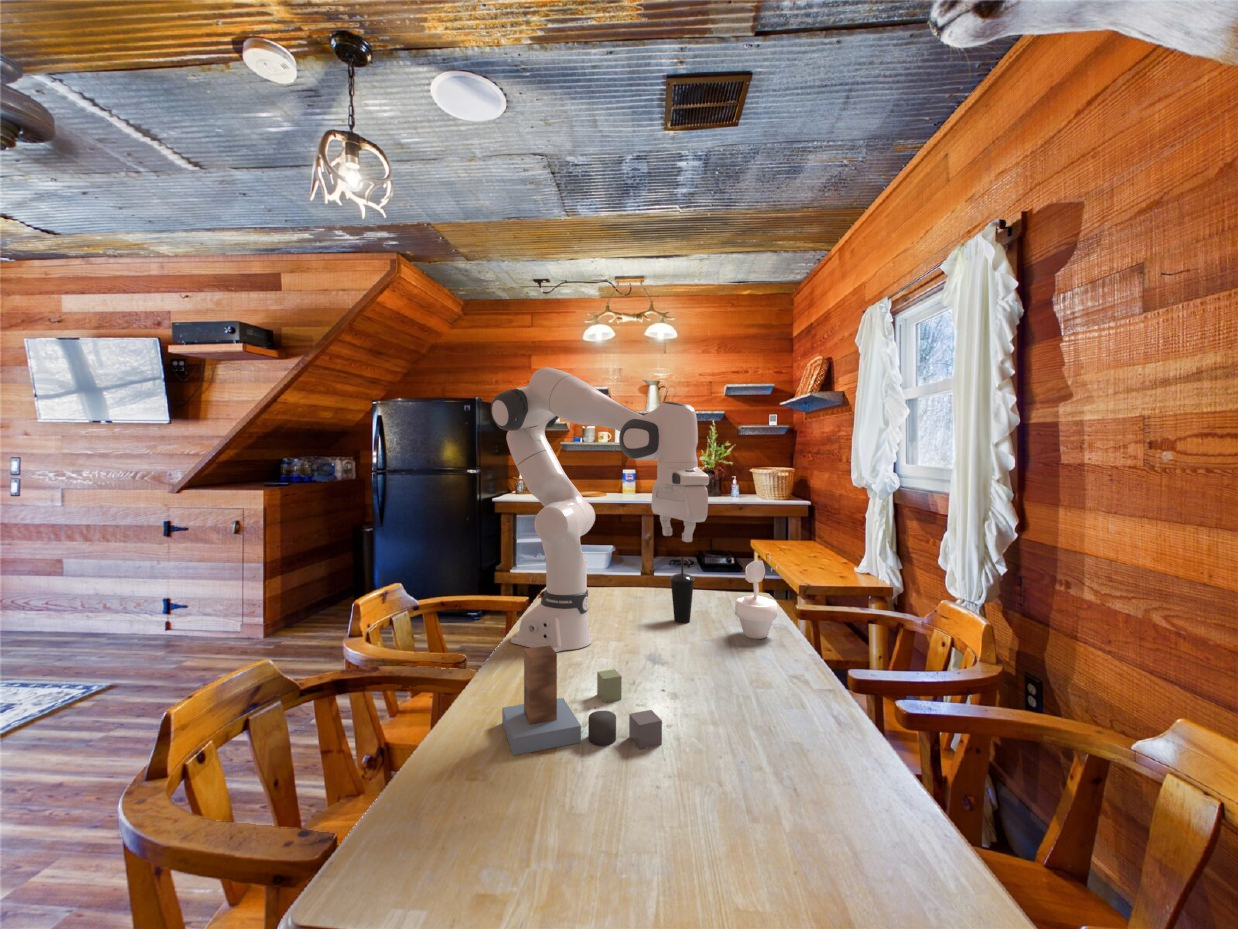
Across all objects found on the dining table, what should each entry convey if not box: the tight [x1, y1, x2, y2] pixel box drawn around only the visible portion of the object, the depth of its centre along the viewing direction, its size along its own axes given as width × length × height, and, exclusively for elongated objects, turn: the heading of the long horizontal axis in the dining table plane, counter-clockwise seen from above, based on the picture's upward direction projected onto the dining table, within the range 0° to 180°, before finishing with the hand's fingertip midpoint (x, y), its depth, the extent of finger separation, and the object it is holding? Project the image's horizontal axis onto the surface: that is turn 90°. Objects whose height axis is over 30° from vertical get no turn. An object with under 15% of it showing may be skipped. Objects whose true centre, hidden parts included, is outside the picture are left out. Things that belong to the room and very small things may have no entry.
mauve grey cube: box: [628, 709, 663, 750], centre depth 97 cm, size 4×4×4 cm
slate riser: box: [501, 697, 582, 756], centre depth 100 cm, size 12×12×3 cm
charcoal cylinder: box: [587, 710, 617, 747], centre depth 98 cm, size 5×5×4 cm
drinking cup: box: [669, 556, 696, 624], centre depth 168 cm, size 8×8×20 cm
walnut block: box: [523, 646, 558, 725], centre depth 100 cm, size 5×5×12 cm
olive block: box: [596, 669, 623, 704], centre depth 115 cm, size 4×4×5 cm
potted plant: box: [734, 554, 779, 640], centre depth 155 cm, size 13×12×25 cm
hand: (676, 538), depth 119 cm, fingers open, 8 cm apart
